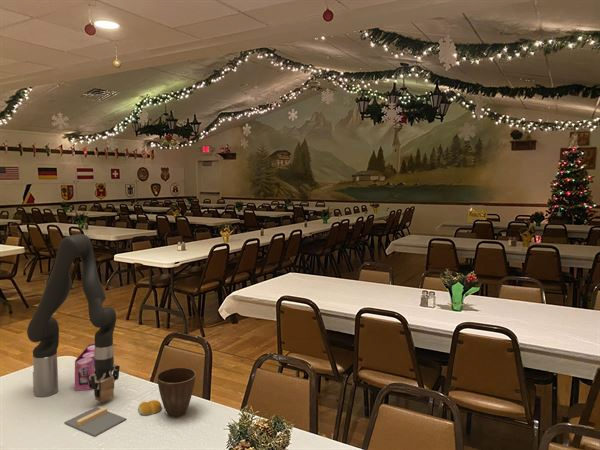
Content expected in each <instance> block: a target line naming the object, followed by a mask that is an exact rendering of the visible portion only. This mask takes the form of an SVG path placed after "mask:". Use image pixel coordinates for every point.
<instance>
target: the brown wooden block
mask: <svg viewBox="0 0 600 450" xmlns="http://www.w3.org/2000/svg"><path fill="white" fill-rule="evenodd" d="M96 380H97V381H100V380H99V379H96ZM97 385H98V383H97ZM99 389H100V397H99V398H97V397H95V396H94V400H95V401H98V402H99V403H103V402H106V401H108V400H109V399H112V398H115V397H114V395H115V391H114V390H115V382H114V376H112V377H108V378H105V379H104V380H102V381H101V384H100V388H99Z"/></svg>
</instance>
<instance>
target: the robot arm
mask: <svg viewBox="0 0 600 450" xmlns="http://www.w3.org/2000/svg"><path fill="white" fill-rule="evenodd" d="M76 258H79V259H80V260H81V264H82V281H81V284H82V290H83V292H84V295H85V298H86V300H87V305H88V306H87V307H88V318H89V321H90V323H91V324H92V325H93V326H94V327H96V328H97V329H98V328H99V329H98V330H97V331H96V332H95V333H94V344H95V348H94V367H95V372H94V374H92V375H88V382H89V388H91V389H93V393H94V398H95V397H97V398H99V397H100V389H99V388H100V384H101V381H102V380H104V379H105V378H108V377H112V376H114V383H115V382H116V381H118V380H119V376H120V367H121V366H120V365H119V364H118V365H117V364H115V362H114V360H115V359H114V357H115V356H114V355H115V354H114V353H115V349H114V331H115V327H116V324H117V313H116V310H115V309H114V308H113V307H112V306H104V307H103V303H104V302H105V301H106V299H107V297H106V294H105V291H104V289H103V285H102V282H101V281H100V277H99V273H98V268H97V264H96V263H97V262H96V258H95V252H94V248H93V243H92V241H91V239H90V237H89V236H88V235H86V234H84V233H79V234H78V233H77V234H73V235H72V234H71V235H67V236H65V237H63V238H62V239H61V240H60V242H59V245H58V249H57V253H56V256H55V261H54V264H53V268H52V270H51V272H50V275H49V278H48V280H47V283H46V285H45V287H44V290H43V294H42V296H41V299H40V300H39V303H38V305H37V308H36V311H35V312H34V314H33V316H32V318H31V320H30V321H29V324H28V325H27V330H26V335H27V338H28V340H29V341H30V342H32V343H38V344H37V345H36V346H35V347H34V348H33V350H32V368H33V372H32V380H33V381H32V386H33V387H32V388H33V393H34V396H35V397H37V398H38V397H39V398H43V397H44V398H45V397H50V396H53V395H55V394H56V393H58V392H59V372H58V371H59V369H58V367H59V366H58V348H59V343H60V342H59V341H60V340H59V339H60V328H59V327H60V326H59V322H58V321H57V319H56V318H55V317H54V316H53V315H54V314H55V313H56V311H58V310H59V308H60V307H61V306H62V305H63V304H64V302H65V301H66V300H67V298H68V296H69V294H70V291H71V288H72V285H73V284H72V283H73V281H72V278H71V267H72V266H73V265H72V264H73V263H74V261H75V259H76ZM95 376H96V378H95ZM96 379H99V380H100V381H97V380H96ZM97 383H98V385H97Z"/></svg>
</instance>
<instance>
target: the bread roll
mask: <svg viewBox="0 0 600 450" xmlns="http://www.w3.org/2000/svg"><path fill="white" fill-rule="evenodd" d="M161 409H162V403H161V402H160V401H159V400H158V399H151V400H148V401H143V402H141V403H139V405H138V409H137V412H138V414H139V415H141V416H150V415H152V414H153V415H154V414H158V413H159V412H160V410H161Z"/></svg>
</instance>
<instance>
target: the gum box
mask: <svg viewBox="0 0 600 450" xmlns="http://www.w3.org/2000/svg"><path fill="white" fill-rule="evenodd" d="M94 348H95V343H89V344H88V345H87V346H86V348H85V349H84V350H82V352H81V353H80V354H79V355H78V357H76V359H75V360H74V391H87V390H88V391H89V390H91V391H92V390H93V389H91V388H89V382H88V375H92V374H94V372H95V367H94ZM95 378H96V376H95ZM93 391H94V390H93Z"/></svg>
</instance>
